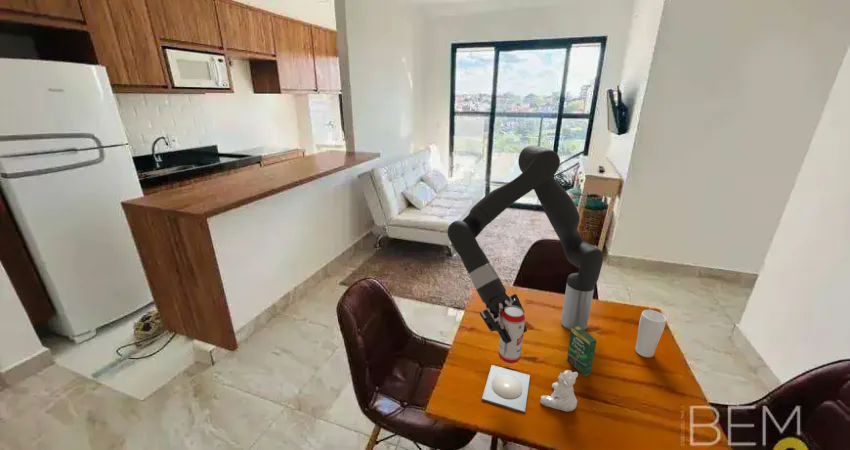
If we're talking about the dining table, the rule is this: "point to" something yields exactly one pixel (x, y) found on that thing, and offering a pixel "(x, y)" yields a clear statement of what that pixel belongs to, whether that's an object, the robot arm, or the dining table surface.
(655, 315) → the drinking glass
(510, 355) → the beer can
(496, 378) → the card
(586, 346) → the coffee box
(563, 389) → the seated beast figurine
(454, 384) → the dining table surface
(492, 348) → the dining table surface
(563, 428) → the dining table surface
